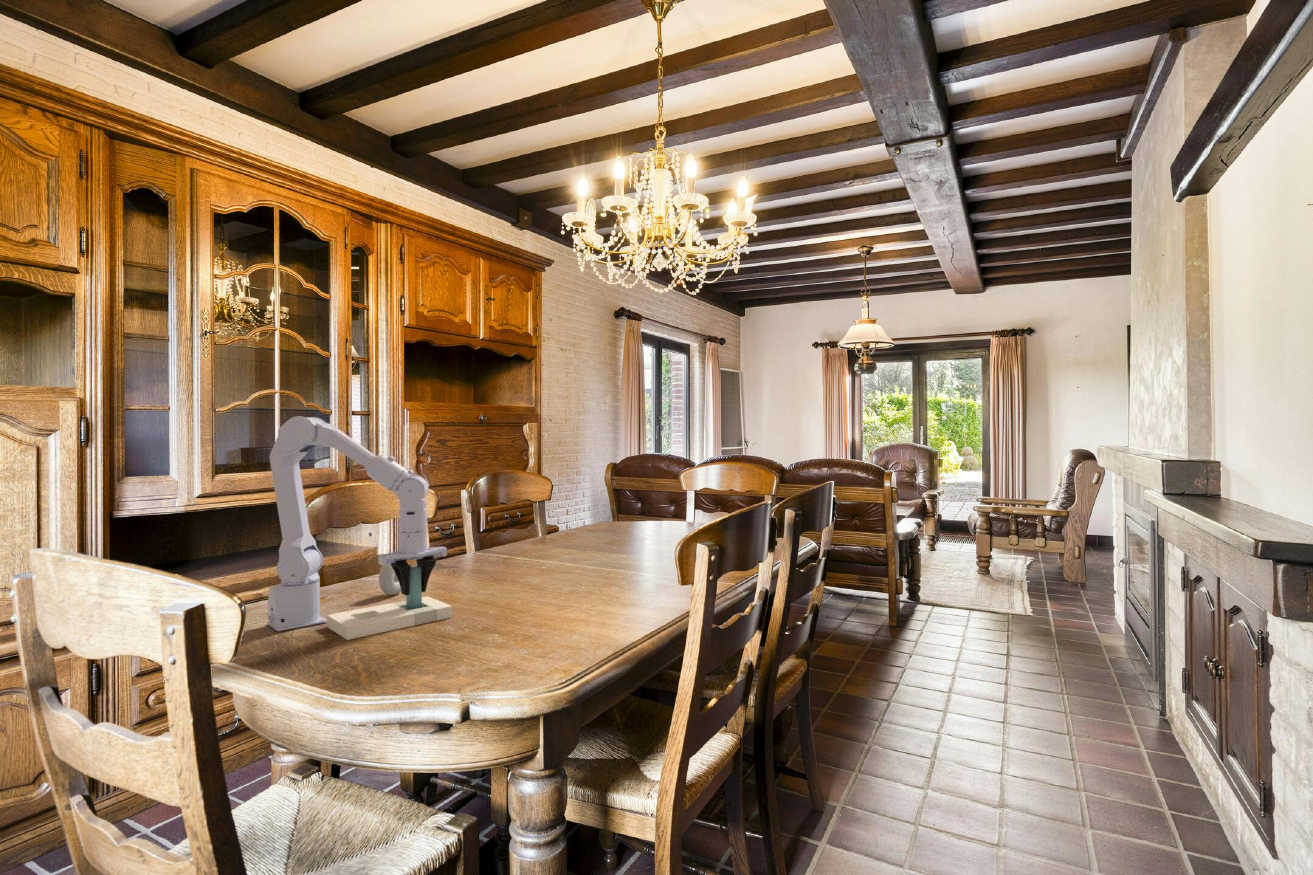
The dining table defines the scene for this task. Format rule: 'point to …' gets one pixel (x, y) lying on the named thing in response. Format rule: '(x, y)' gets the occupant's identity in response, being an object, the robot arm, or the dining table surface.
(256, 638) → the dining table surface
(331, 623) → the peg board
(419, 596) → the peg
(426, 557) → the robot arm
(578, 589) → the dining table surface
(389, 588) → the donut
